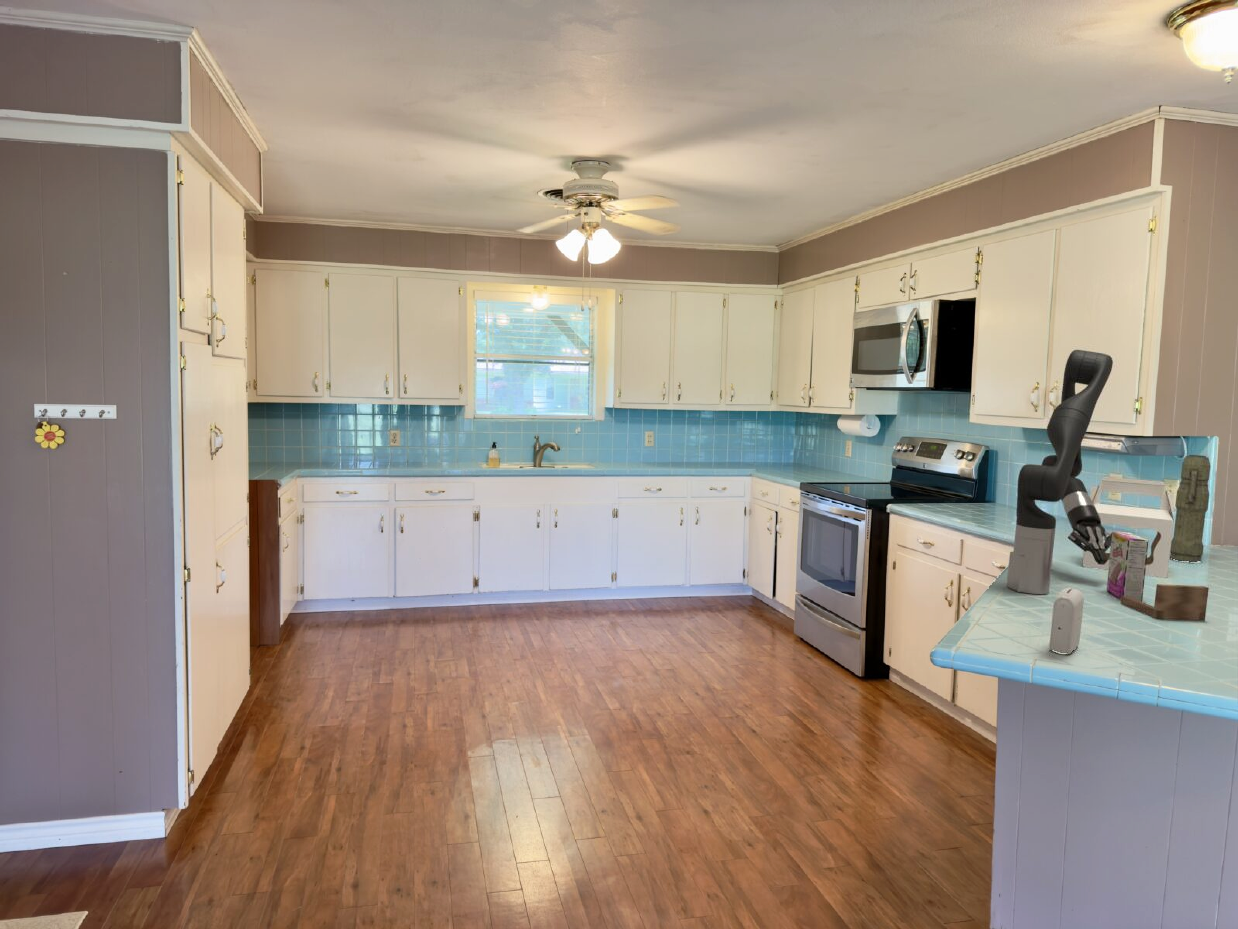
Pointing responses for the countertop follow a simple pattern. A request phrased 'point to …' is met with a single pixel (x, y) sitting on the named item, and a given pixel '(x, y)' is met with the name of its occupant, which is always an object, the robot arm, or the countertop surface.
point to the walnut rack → (1174, 602)
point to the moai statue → (1191, 509)
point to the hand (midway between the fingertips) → (1103, 563)
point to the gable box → (1137, 519)
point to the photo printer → (1066, 621)
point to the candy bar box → (1127, 565)
